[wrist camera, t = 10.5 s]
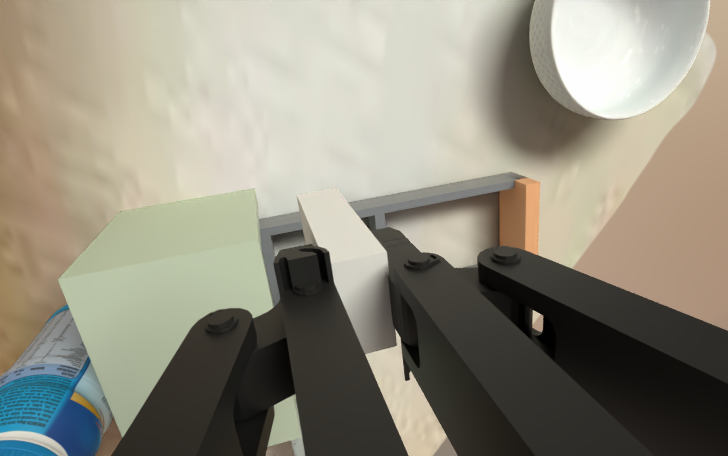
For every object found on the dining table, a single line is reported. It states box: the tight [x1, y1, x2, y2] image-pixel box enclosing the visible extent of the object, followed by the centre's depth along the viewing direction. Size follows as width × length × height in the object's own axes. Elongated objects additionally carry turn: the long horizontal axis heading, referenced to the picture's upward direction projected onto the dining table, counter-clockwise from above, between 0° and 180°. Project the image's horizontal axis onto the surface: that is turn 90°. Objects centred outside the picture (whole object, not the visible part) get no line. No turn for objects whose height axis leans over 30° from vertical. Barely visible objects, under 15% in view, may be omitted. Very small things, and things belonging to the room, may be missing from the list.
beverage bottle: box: [0, 304, 113, 456], centre depth 34 cm, size 8×8×20 cm
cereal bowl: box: [529, 0, 710, 120], centre depth 42 cm, size 17×17×7 cm
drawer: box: [259, 172, 540, 307], centre depth 45 cm, size 11×28×5 cm, turn 97°
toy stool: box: [58, 188, 301, 447], centre depth 37 cm, size 17×12×14 cm
